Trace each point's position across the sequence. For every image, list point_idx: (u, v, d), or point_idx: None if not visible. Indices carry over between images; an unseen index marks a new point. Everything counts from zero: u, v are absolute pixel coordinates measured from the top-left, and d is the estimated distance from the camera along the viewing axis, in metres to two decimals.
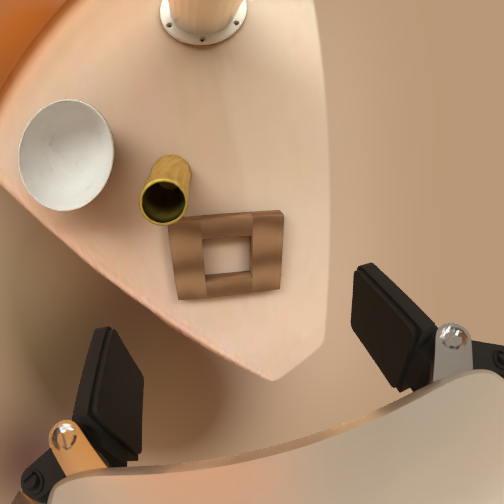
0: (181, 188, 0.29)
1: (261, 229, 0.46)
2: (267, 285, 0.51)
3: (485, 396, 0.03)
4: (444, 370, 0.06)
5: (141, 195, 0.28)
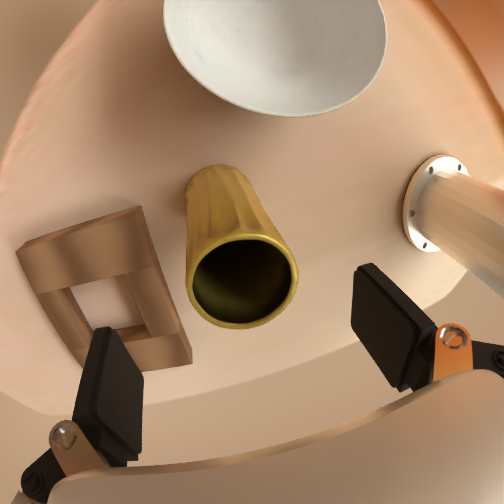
0: (277, 313, 0.14)
1: (164, 345, 0.29)
2: None
3: (485, 396, 0.03)
4: (444, 370, 0.06)
5: (260, 237, 0.12)
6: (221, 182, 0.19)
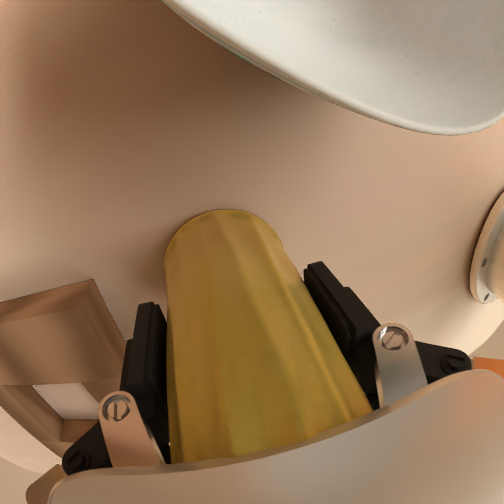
0: None
1: None
2: (62, 453, 0.17)
3: (485, 396, 0.03)
4: (391, 374, 0.06)
5: None
6: (238, 276, 0.09)
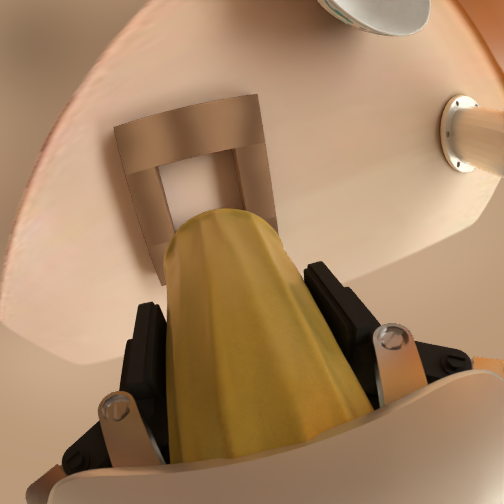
0: None
1: None
2: None
3: (485, 396, 0.03)
4: (391, 374, 0.06)
5: None
6: (238, 275, 0.09)
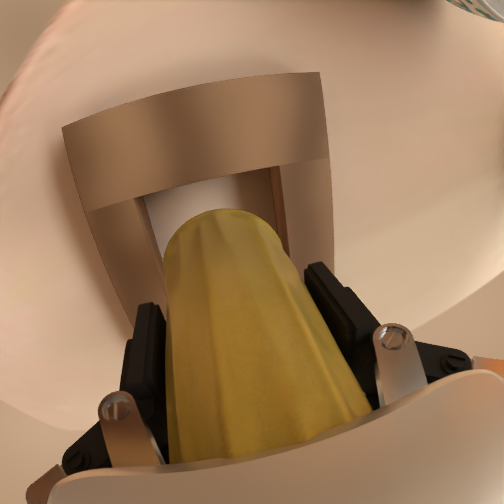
0: None
1: None
2: None
3: (485, 396, 0.03)
4: (391, 374, 0.06)
5: None
6: (237, 275, 0.09)
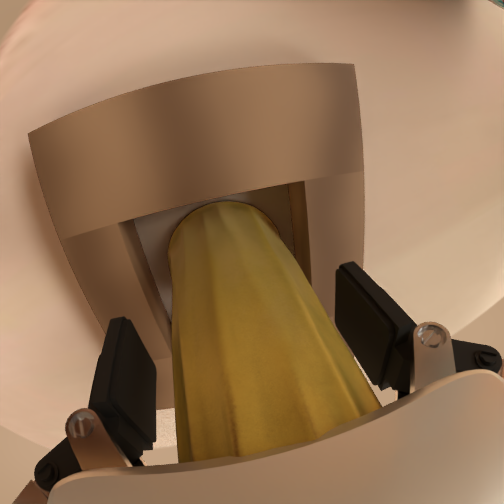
0: None
1: None
2: (159, 389, 0.16)
3: (485, 396, 0.03)
4: (425, 370, 0.06)
5: None
6: (238, 257, 0.09)
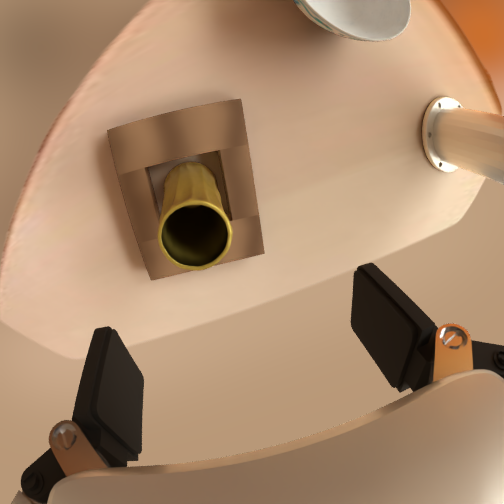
0: (220, 258, 0.21)
1: (242, 230, 0.33)
2: (154, 261, 0.32)
3: (485, 396, 0.03)
4: (444, 370, 0.06)
5: (203, 203, 0.19)
6: (188, 173, 0.26)
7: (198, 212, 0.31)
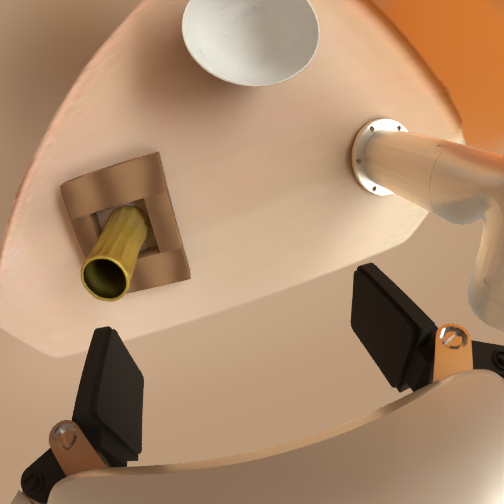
0: (123, 293, 0.27)
1: (169, 260, 0.39)
2: None
3: (485, 396, 0.03)
4: (444, 370, 0.06)
5: (105, 257, 0.25)
6: (115, 222, 0.32)
7: None
